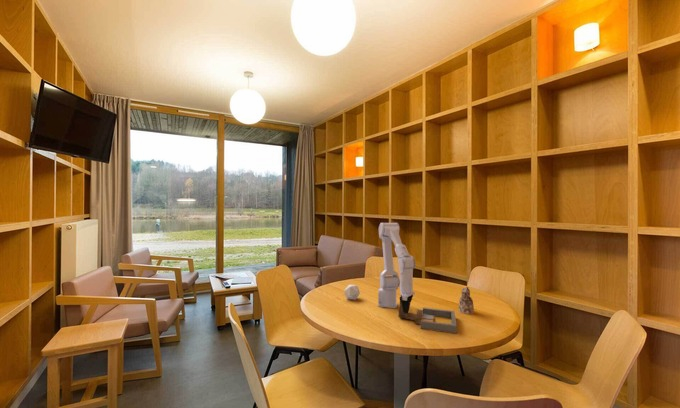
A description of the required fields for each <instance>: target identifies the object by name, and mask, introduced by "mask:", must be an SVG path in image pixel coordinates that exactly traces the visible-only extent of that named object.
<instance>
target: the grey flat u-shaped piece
mask: <svg viewBox="0 0 680 408" xmlns="http://www.w3.org/2000/svg"><path fill="white" fill-rule="evenodd" d="M422 310H423V314H425V315H433V317H440V318H446V319H447V318H448V319H450V320H451V321H450V322H451V323H445V322H436V321H433V322H430V321H422V320H421V325H420V329H421V330H427V331H436V332H444V333H451V334H457V330H458V327H457V320H456V313H455V311H454V310H448V309H438V308H430V307H422Z"/></svg>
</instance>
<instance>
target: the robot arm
mask: <svg viewBox="0 0 680 408" xmlns="http://www.w3.org/2000/svg"><path fill="white" fill-rule="evenodd" d="M378 236H379V237H378V238H379V239H380V240H381V242H382V243H381V245H382V255H383V256H382V257H383V258H382V259H383V268H384V269H383V270H382V272H380V274H379V288H378V292H377V293H378V294H377V295H378V296H377V297H378V298H377V299H378V302H377V303H378V305H377V306H378V307H380V308H389V309H396V308H397V307H398V304H399V303H398V302H397V290H398V289H400V290H399V294H400V296H399V302H400V301H401V303H402V308H403V312H404V313H408V312H409V311H410V307H411V302H412V300H413V297H414V295H416V291H414V290H413V289H414V288H413V286H414V285H413V284H414V283H413V282H414V279H413V278H414V277H413V275H414V274H413V273H414V272H413V271H414V269H415V268H416V260H415V257H414V256H412V254H410V253H409V250H408V249H407V246H406V245H405V244H403V243H402V238H401V236H400V224H399V223H398V222H380V224H379V226H378ZM392 243H393V244H392ZM392 245H394V251H395V252H394V253H395V255H396V257H397V260H398V261H397V265H398V266H397V267H398V270H399V271H398V272H399V273H398V272H397V271H396V270H395V269H394V258H393V247H392ZM401 296H402V297H401ZM409 313H410V312H409Z"/></svg>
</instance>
